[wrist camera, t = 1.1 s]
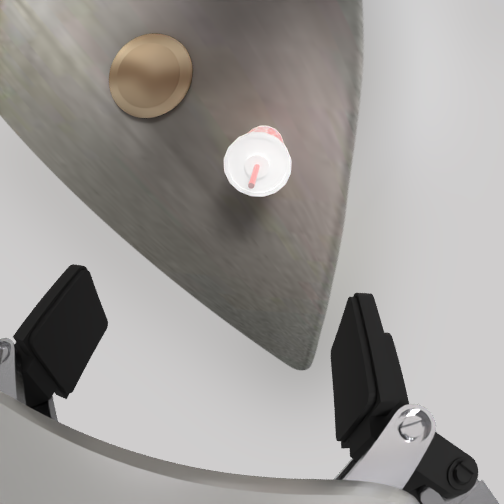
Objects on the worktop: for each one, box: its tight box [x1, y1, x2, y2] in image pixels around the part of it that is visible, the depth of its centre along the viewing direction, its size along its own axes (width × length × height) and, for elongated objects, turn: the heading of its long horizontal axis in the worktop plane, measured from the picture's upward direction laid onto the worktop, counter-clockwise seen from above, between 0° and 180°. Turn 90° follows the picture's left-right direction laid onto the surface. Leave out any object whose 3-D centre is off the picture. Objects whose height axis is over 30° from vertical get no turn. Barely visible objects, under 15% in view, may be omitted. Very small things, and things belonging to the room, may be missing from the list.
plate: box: [109, 33, 193, 118], centre depth 28 cm, size 11×11×1 cm
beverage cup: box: [224, 126, 291, 197], centre depth 27 cm, size 6×6×14 cm
